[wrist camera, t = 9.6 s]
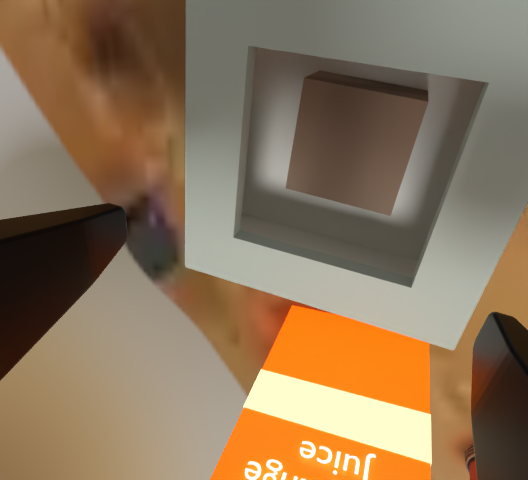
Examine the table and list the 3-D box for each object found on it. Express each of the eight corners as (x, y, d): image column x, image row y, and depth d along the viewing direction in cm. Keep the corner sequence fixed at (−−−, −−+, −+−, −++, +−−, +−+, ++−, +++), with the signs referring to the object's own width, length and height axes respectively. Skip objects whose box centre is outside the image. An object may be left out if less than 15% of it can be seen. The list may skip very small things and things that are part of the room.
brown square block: (428, 90, 18) (428, 101, 15) (394, 192, 20) (390, 216, 18) (320, 70, 19) (304, 77, 16) (301, 169, 21) (285, 188, 19)
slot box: (563, 5, 15) (630, -4, 10) (447, 276, 22) (453, 350, 17) (250, -29, 18) (186, -47, 13) (232, 218, 25) (184, 266, 20)
